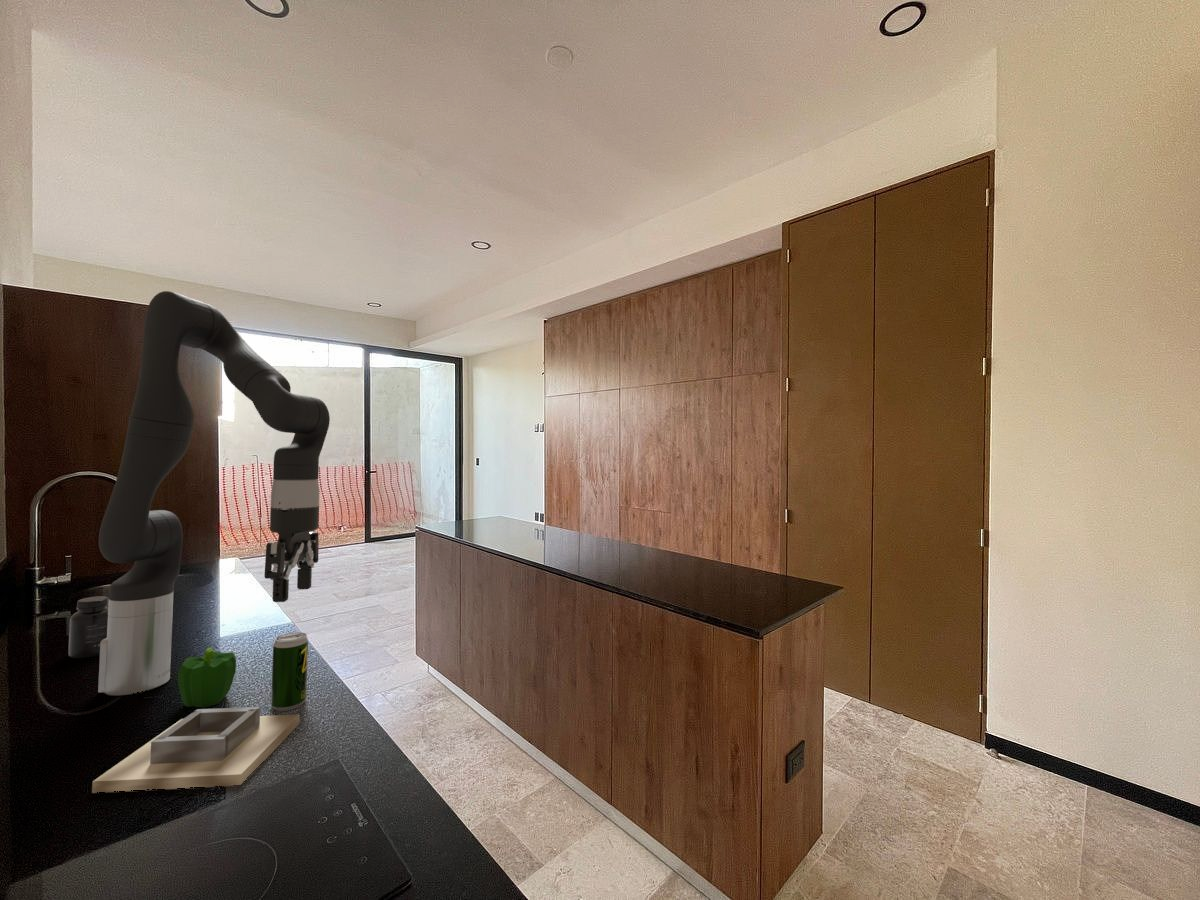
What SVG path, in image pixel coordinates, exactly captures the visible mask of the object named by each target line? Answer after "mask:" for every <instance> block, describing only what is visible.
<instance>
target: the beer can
mask: <svg viewBox="0 0 1200 900" xmlns="http://www.w3.org/2000/svg"><path fill="white" fill-rule="evenodd" d="M308 657H309V639H308V634H307V633H306V632H304V631H303V632H301V631H293V632H289V633H288V632H287V633H283V634H281V635H278V636H276V637H275V638H274V643H273V645H272V661H271V662H272V664H271V687H270V688H271V689H270V691H271V692H270V693H271V694H270V705H271V707H272V709H273V710H274V711H276V712H286V711H291V710H294V709H297V708H299V707H301V706H302V705H304V704H305V702H306V698H307V689H308V688H307V687H308V684H307V683H308V664H309V663H308Z"/></svg>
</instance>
